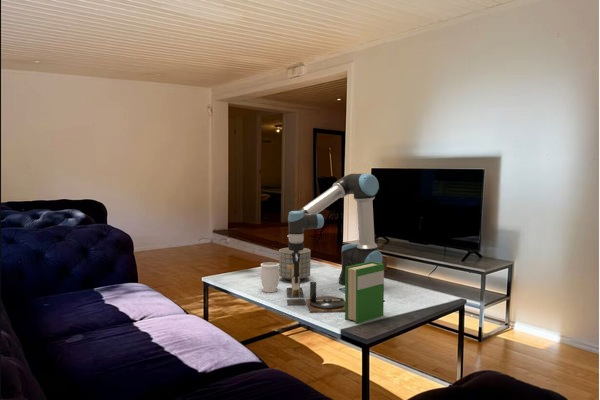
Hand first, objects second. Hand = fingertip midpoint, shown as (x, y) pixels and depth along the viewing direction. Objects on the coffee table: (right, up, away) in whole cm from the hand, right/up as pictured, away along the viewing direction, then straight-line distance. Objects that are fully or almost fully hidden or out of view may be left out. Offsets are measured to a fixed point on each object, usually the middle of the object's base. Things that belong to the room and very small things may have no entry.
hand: (295, 287), depth 224 cm
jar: (-14, -6, +23) cm, 28 cm away
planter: (-1, -4, +47) cm, 47 cm away
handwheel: (+16, -7, -5) cm, 18 cm away
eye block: (-1, -7, +14) cm, 15 cm away
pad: (0, -8, +1) cm, 8 cm away
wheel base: (+16, -8, -5) cm, 18 cm away
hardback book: (+31, -9, -22) cm, 39 cm away
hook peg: (-1, -4, 0) cm, 4 cm away
